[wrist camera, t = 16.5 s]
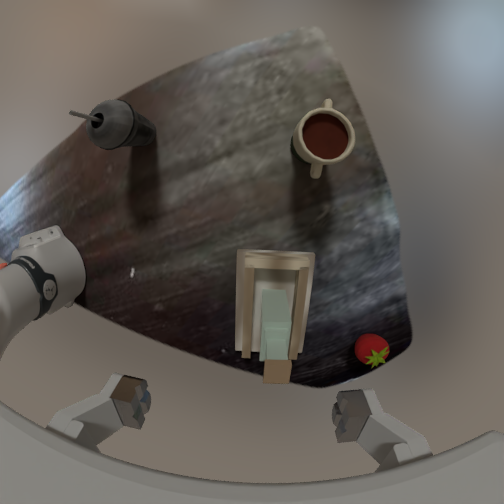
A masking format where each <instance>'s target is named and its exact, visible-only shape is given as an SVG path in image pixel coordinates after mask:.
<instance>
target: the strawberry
mask: <svg viewBox="0 0 504 504" xmlns="http://www.w3.org/2000/svg"><path fill="white" fill-rule="evenodd" d="M388 354H389V346H388V343H387V342H386V341H385V340H384V339H383V338H381V337H380V336H378V335H376V334H363V335H361V336H360V337H359V338H358V340H357V341H356V343H355V355H356V356H357V358H358V359H359V360H360V361H361V362H363V363H365V364H373V365H372V367H373V366H374V365H375V364H376V366H377V365H378V363H380V362H382V363H385V361H384V360H385V358H386V357H387V356H388Z"/></svg>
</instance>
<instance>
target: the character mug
mask: <svg viewBox="0 0 504 504" xmlns="http://www.w3.org/2000/svg"><path fill="white" fill-rule="evenodd" d="M354 145H355V132H354V129H353V127H352V125H351V123H350V121H349V120H348V119H347V118H346V117H345V116H344V115H343V114H342V113H340V112H338V111H336V110H334V109H332V100H330V99H326V100H325V101H324V102H323V103H322V105H321V108H318V109H315V110H312V111H310V112H308V113H307V114H306V115H305V116H304V117H303V118H302V119H301V120H300V122H299V123H298V125H297V126H296V128H295V131H294V133H293V136H292V139H291V145H290V146H291V149H292V152H293V154H294V155H295V156H296V158H297V159H298V160H300V161H302V162H304V163H306V164H311V170H310V176H311V177H312V178H315V179H317V178H319V177H320V176H321V173H322V167H323V165H329V164H334V163H337V162H339V161H342V160H344V159H345V158H346V157H347V156H348V155H349V154H350V153H351V151H352V150H353V148H354Z"/></svg>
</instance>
